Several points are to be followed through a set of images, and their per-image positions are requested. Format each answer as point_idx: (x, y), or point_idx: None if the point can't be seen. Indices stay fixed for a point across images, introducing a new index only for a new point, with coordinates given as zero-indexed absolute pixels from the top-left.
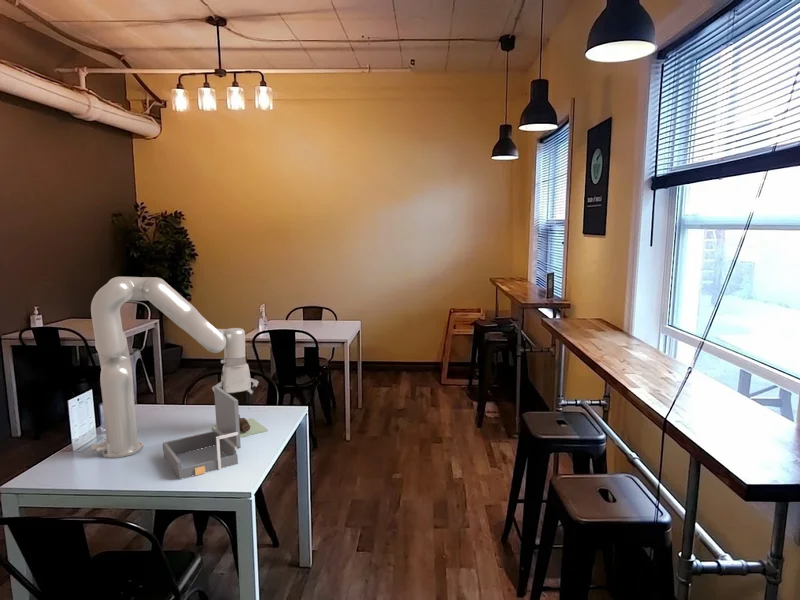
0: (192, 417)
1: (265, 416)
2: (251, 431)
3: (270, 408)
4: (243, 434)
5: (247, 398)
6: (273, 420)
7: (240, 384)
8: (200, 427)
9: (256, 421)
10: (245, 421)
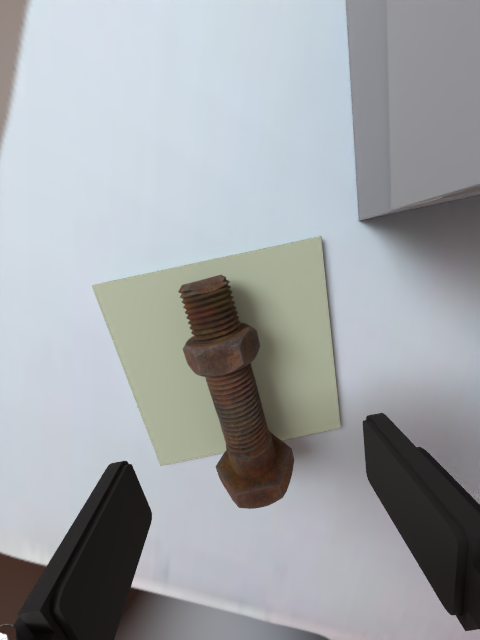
0: (372, 552)
1: (102, 473)
2: (179, 295)
3: None
4: (224, 269)
5: (121, 552)
6: (65, 415)
7: None
8: None
9: (144, 419)
10: (198, 344)
